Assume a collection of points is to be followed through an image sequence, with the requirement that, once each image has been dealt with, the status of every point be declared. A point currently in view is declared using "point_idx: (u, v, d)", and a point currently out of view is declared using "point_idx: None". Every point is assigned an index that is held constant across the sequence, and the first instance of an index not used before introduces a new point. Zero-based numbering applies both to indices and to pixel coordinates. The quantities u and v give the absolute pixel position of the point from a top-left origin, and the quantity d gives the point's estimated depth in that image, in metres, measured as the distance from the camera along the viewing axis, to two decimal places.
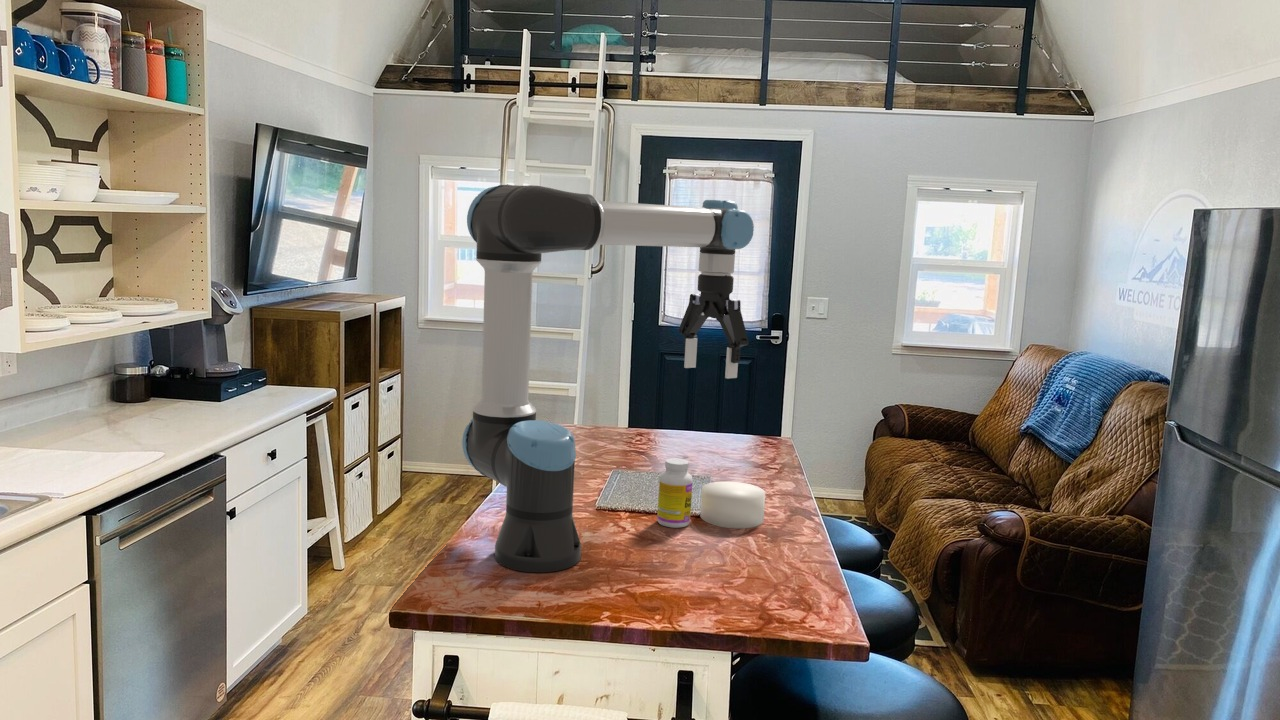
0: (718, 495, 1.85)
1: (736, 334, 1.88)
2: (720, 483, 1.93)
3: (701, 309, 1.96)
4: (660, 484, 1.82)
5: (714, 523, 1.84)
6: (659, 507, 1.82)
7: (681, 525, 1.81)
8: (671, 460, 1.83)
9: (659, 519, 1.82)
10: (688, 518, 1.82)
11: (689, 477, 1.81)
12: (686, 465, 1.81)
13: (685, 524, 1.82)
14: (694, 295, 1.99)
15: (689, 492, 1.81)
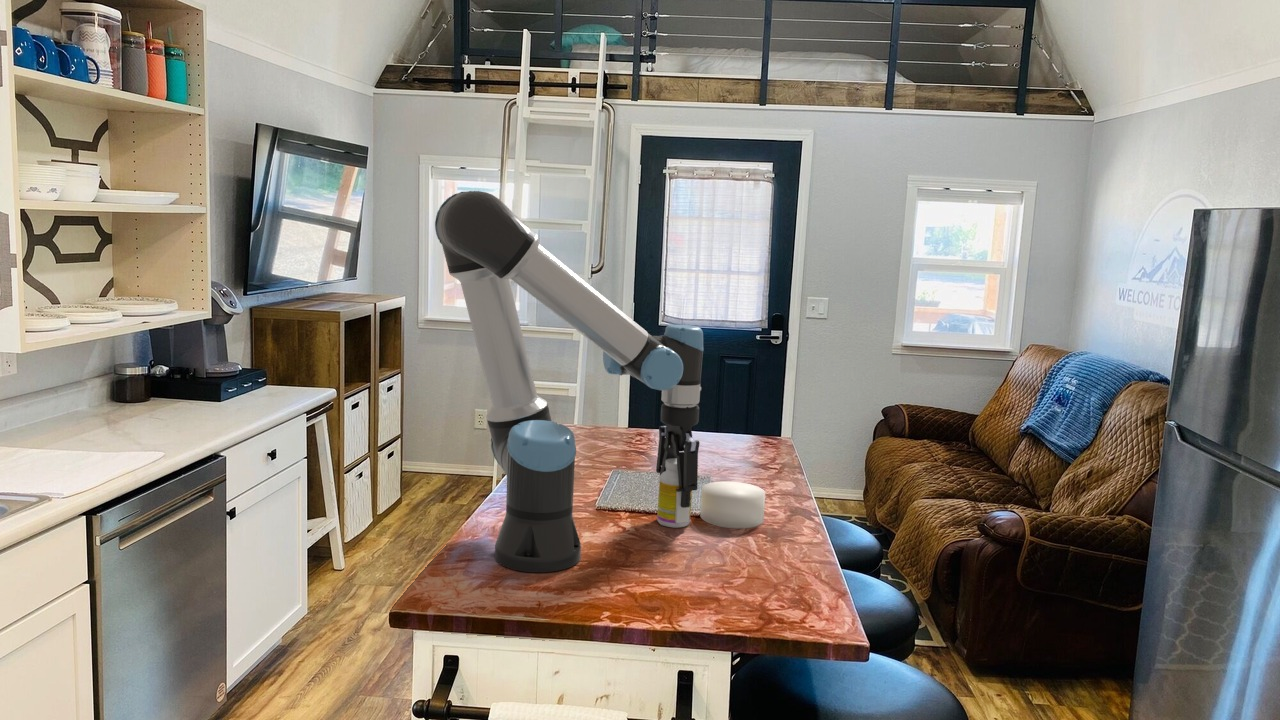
0: (718, 495, 1.85)
1: (685, 478, 1.76)
2: (720, 483, 1.93)
3: (667, 441, 1.82)
4: (660, 484, 1.82)
5: (714, 523, 1.84)
6: (659, 507, 1.82)
7: (681, 525, 1.81)
8: (671, 460, 1.83)
9: (659, 519, 1.82)
10: None
11: None
12: None
13: (685, 524, 1.82)
14: (662, 427, 1.86)
15: None
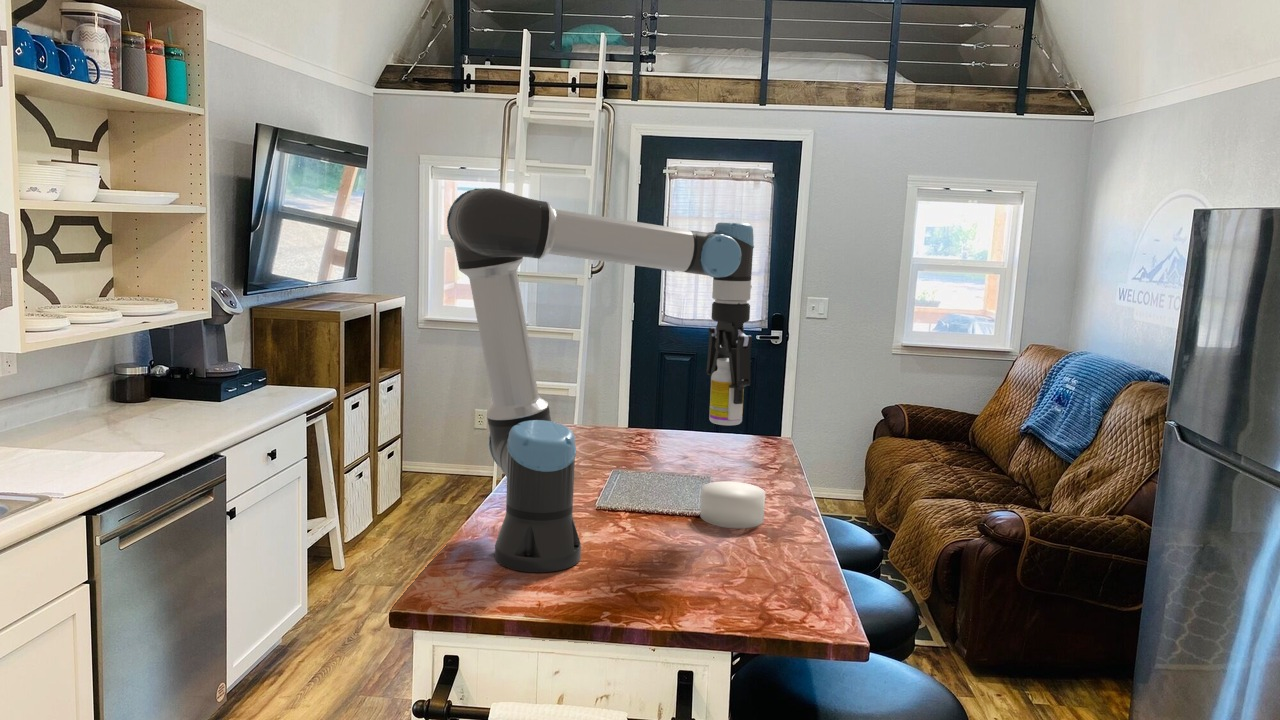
0: (718, 495, 1.85)
1: (738, 374, 1.77)
2: (720, 483, 1.93)
3: (718, 340, 1.83)
4: (712, 382, 1.83)
5: (714, 523, 1.84)
6: (711, 406, 1.83)
7: (734, 422, 1.82)
8: (722, 359, 1.83)
9: (712, 418, 1.83)
10: None
11: None
12: None
13: (738, 422, 1.83)
14: (712, 328, 1.87)
15: None
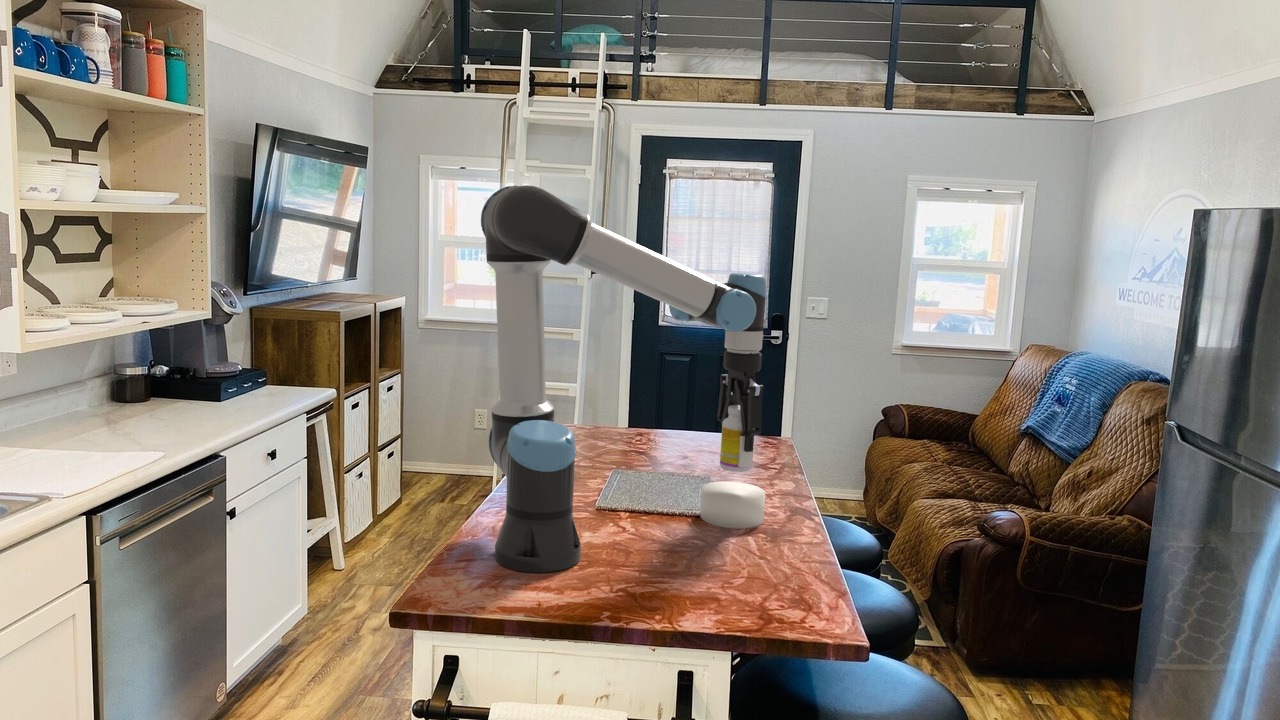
0: (718, 495, 1.85)
1: (749, 423, 1.80)
2: (720, 483, 1.93)
3: (729, 388, 1.86)
4: (723, 430, 1.85)
5: (714, 523, 1.84)
6: (722, 452, 1.86)
7: (744, 469, 1.85)
8: (734, 406, 1.86)
9: (722, 464, 1.86)
10: None
11: None
12: None
13: (748, 469, 1.85)
14: (723, 375, 1.90)
15: None
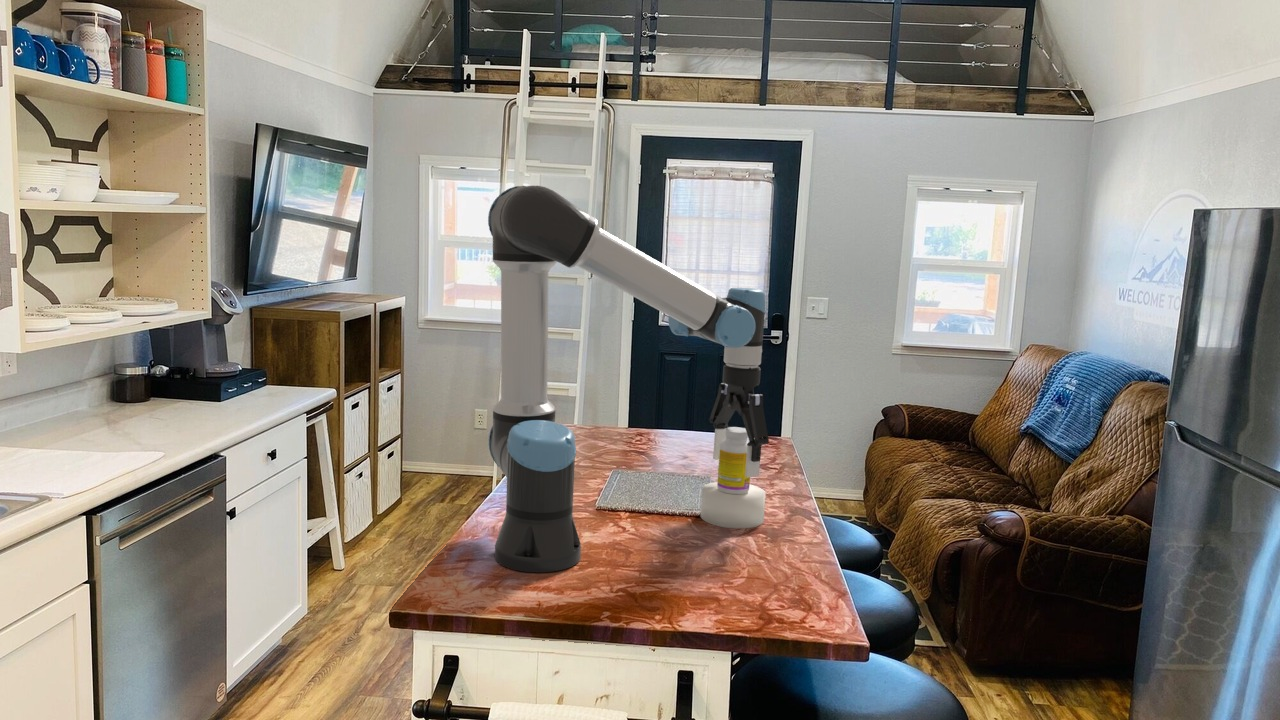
0: (718, 495, 1.85)
1: (755, 432, 1.78)
2: None
3: (727, 401, 1.87)
4: (721, 452, 1.86)
5: (714, 523, 1.84)
6: (720, 474, 1.87)
7: (741, 492, 1.86)
8: (731, 429, 1.87)
9: (720, 486, 1.87)
10: (748, 485, 1.87)
11: None
12: (746, 433, 1.85)
13: (745, 491, 1.86)
14: (723, 384, 1.90)
15: None
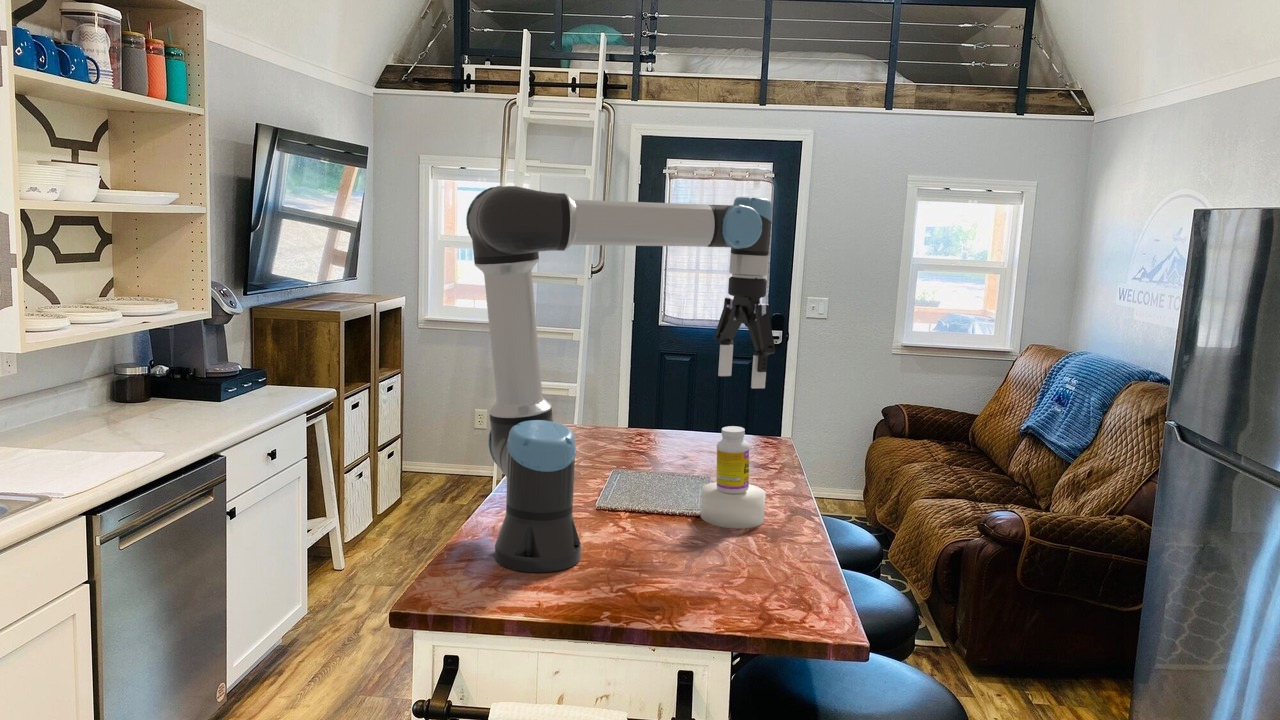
0: (718, 495, 1.85)
1: (761, 341, 1.75)
2: None
3: (732, 314, 1.84)
4: (718, 452, 1.86)
5: (714, 523, 1.84)
6: (718, 475, 1.86)
7: (741, 491, 1.86)
8: (727, 428, 1.86)
9: (719, 486, 1.87)
10: (747, 483, 1.87)
11: (746, 444, 1.85)
12: (743, 432, 1.85)
13: (745, 489, 1.86)
14: (728, 299, 1.87)
15: (747, 458, 1.85)
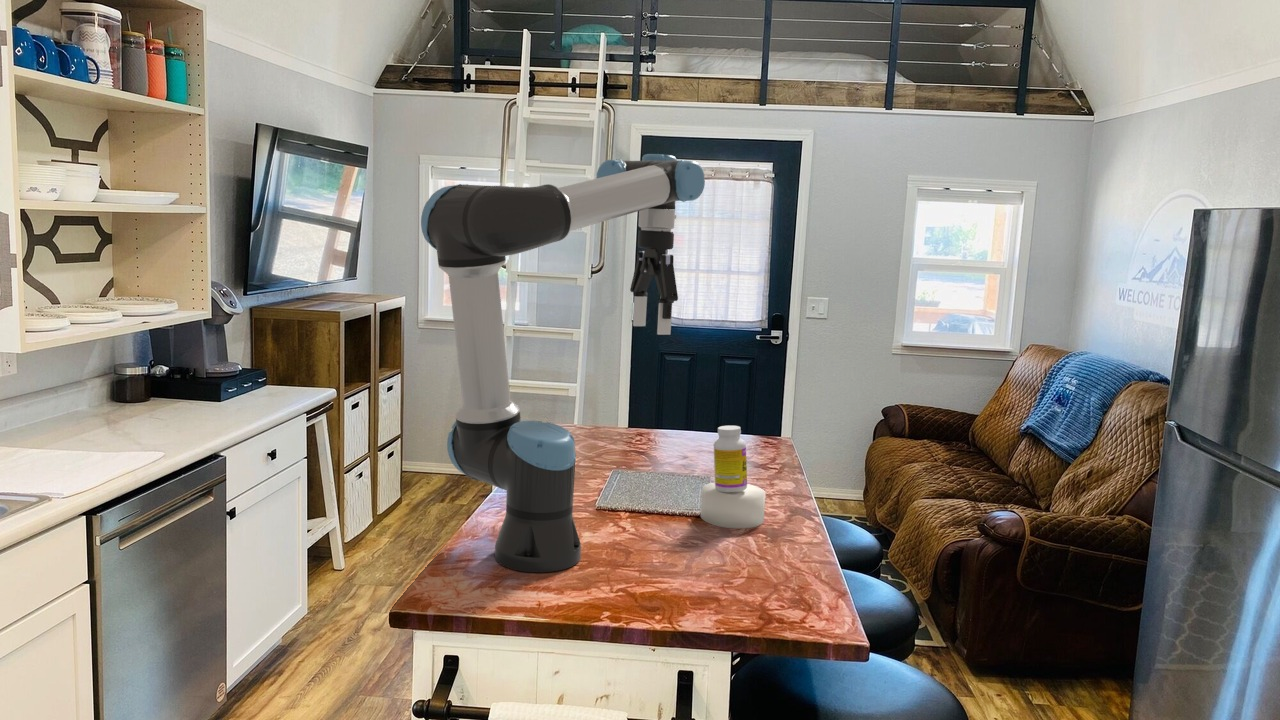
0: (718, 495, 1.85)
1: (665, 289, 1.86)
2: None
3: (643, 266, 1.95)
4: (716, 452, 1.86)
5: (714, 523, 1.84)
6: (717, 474, 1.86)
7: (741, 489, 1.86)
8: (723, 427, 1.87)
9: (718, 486, 1.86)
10: (746, 481, 1.87)
11: (743, 441, 1.86)
12: (739, 430, 1.86)
13: (744, 487, 1.86)
14: (641, 252, 1.98)
15: (745, 456, 1.86)
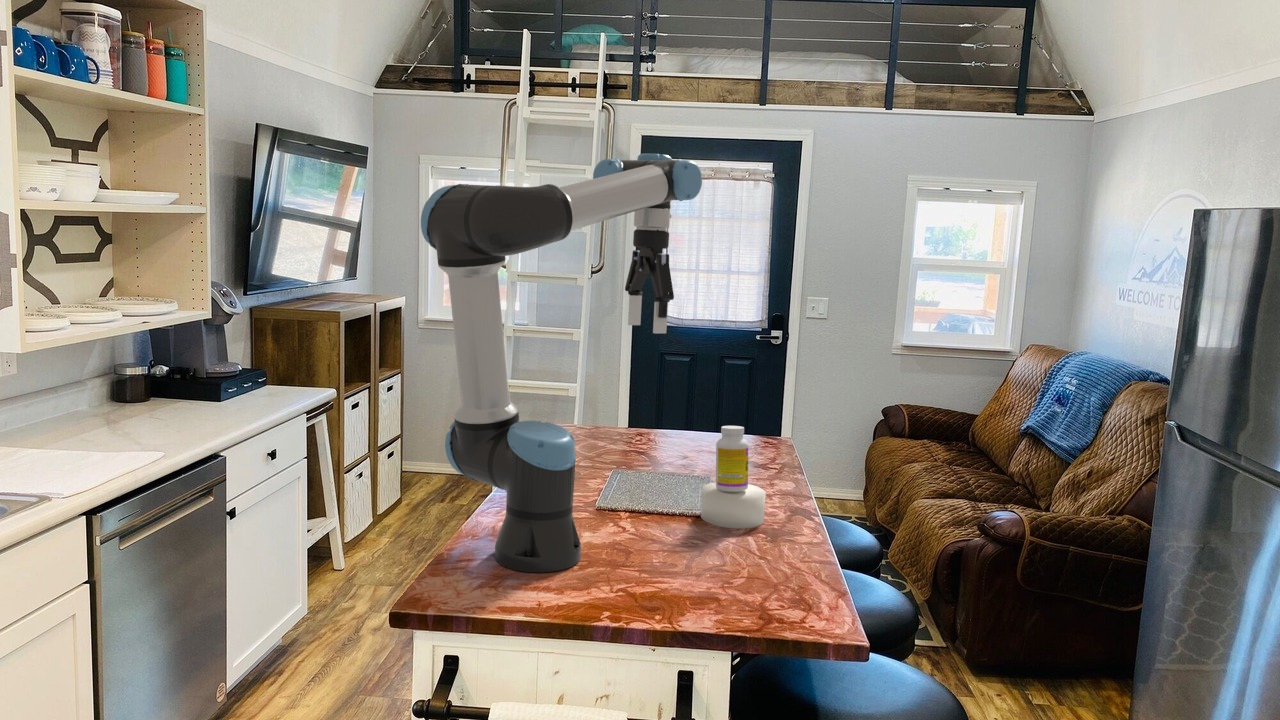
0: (718, 495, 1.85)
1: (661, 288, 1.87)
2: None
3: (638, 265, 1.96)
4: (720, 450, 1.86)
5: (714, 523, 1.84)
6: (720, 473, 1.86)
7: (743, 488, 1.86)
8: (726, 427, 1.88)
9: (721, 485, 1.86)
10: (747, 481, 1.87)
11: (746, 441, 1.87)
12: (743, 429, 1.87)
13: (746, 487, 1.87)
14: (636, 251, 1.99)
15: (747, 455, 1.87)
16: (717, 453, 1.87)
